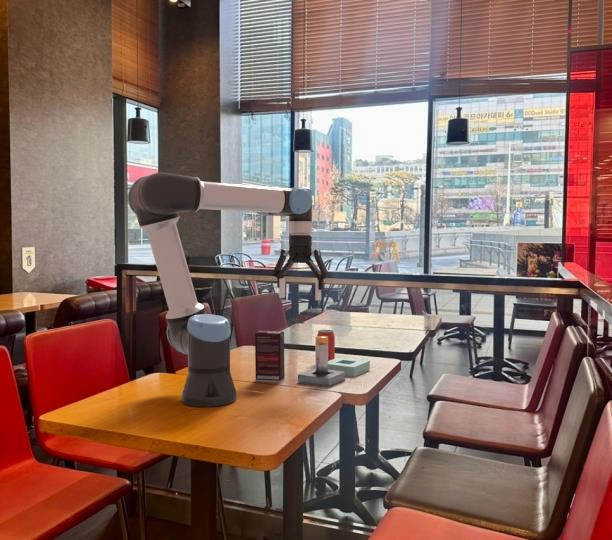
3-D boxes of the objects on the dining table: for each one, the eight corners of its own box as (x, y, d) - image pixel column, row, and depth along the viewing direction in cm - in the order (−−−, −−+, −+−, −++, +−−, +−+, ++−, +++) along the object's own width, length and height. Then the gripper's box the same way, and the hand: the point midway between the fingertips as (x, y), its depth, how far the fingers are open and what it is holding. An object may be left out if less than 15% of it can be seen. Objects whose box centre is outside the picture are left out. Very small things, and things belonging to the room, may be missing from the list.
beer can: (337, 362, 214) (338, 330, 213) (328, 366, 208) (329, 332, 208) (322, 361, 217) (322, 329, 217) (313, 364, 212) (313, 331, 211)
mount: (328, 388, 176) (328, 378, 176) (297, 383, 182) (297, 374, 182) (345, 381, 186) (345, 371, 186) (315, 376, 192) (315, 367, 191)
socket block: (354, 377, 190) (354, 367, 190) (322, 373, 196) (322, 363, 196) (369, 370, 201) (369, 360, 200) (338, 367, 207) (338, 357, 207)
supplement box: (285, 380, 187) (284, 331, 186) (280, 383, 182) (280, 333, 182) (259, 378, 189) (259, 330, 188) (254, 382, 184) (254, 332, 184)
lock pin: (324, 383, 181) (324, 338, 181) (313, 381, 183) (313, 337, 183) (330, 380, 185) (330, 336, 184) (319, 379, 187) (319, 335, 186)
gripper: (339, 234, 190) (338, 299, 191) (273, 235, 202) (273, 296, 202) (329, 234, 183) (328, 301, 184) (262, 234, 195) (262, 297, 196)
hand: (299, 298), depth 193 cm, fingers open, 13 cm apart
